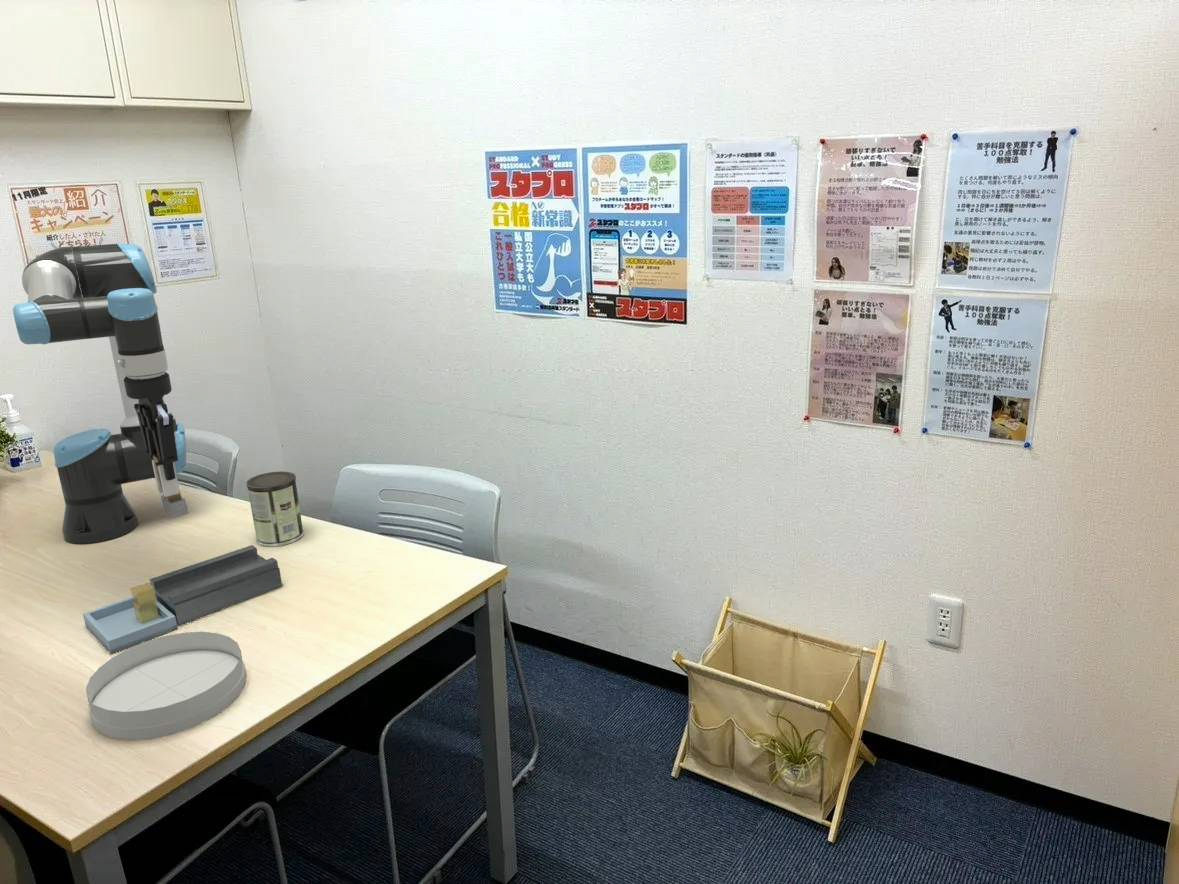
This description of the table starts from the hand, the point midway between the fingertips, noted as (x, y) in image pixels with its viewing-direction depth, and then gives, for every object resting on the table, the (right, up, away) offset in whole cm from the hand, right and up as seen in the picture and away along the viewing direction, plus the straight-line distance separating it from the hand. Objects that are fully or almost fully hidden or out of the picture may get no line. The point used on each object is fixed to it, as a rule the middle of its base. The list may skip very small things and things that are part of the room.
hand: (168, 492), depth 158 cm
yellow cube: (0, -20, -9) cm, 22 cm away
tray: (-2, -24, -10) cm, 26 cm away
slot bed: (+9, -20, +1) cm, 22 cm away
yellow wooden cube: (+1, -21, -7) cm, 22 cm away
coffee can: (+11, -12, +27) cm, 32 cm away
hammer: (+1, -4, +2) cm, 4 cm away
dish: (+16, -31, -29) cm, 45 cm away
